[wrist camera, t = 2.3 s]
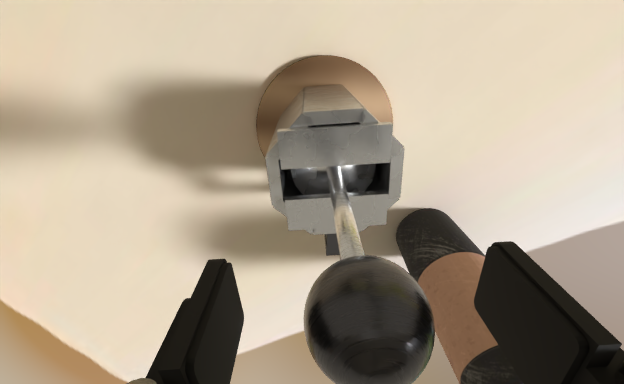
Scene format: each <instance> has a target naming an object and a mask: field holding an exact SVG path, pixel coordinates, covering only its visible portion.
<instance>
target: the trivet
mask: <svg viewBox="0 0 624 384" xmlns="http://www.w3.org/2000/svg"><path fill="white" fill-rule="evenodd" d="M339 84H341V85H343V86H344V87H345V88H346V89H347V90H348V91H349V92H350V93H351V94H352V95H353V96H354V97H355V98H356V99H357V100H358V101H359V102H360V103H361V104H363V105H364V106H365V107H366V108H367V109H368V110H369V111H370V112H371V113H372V115H373V116H374V117H375V118H376V119H377V120H378V121H379V122H391V123H392V124H393V115H392V108H391V105H390V101H389V98H388V96H387V94H386V91H385V90H384V88H383V86H382V85H381V83H380V82H379V81H378V79H377V78H376V77H375V76H374V75H373V74H372V73H371V72H370V71H369V70H367V69H366V68H364V67H363V66H361V65H360V64H358V63H356V62H354V61H352V60H349V59H346V58H342V57H337V56H314V57H310V58H306V59H303V60H300V61H298V62H296V63H294V64H292V65H291V66H289V67H287V68H286V69H284V70H283V71H282V72H281V73H280V74H279V75H278V76H277V77H276V78H275V79H274V80H273V81H272V82H271V84H270V85H269V87H268V88H267V90H266V91H265V93H264V95H263V97H262V99H261V102H260V105H259V108H258V114H257V124H256V127H257V137H258V141H259V145H260V148H261V151H262V153H263V155H264V157H266V153H267V151H268V148H269V145H270V143H271V140H272V137H273V134H274V132H275V129H276V126H277V124H278V121H279V118H280V116H281V114H282V113H283V112H284V110H285V109H286V108H287V107H288V106H289V104H290V103H291V102H292V101H293V100H294V98H295V97H296V96H297V95H298V93H299V92H300V91H301V90H302V89H303V87H304V88H305V87H309V86H324V85H339Z"/></svg>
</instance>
